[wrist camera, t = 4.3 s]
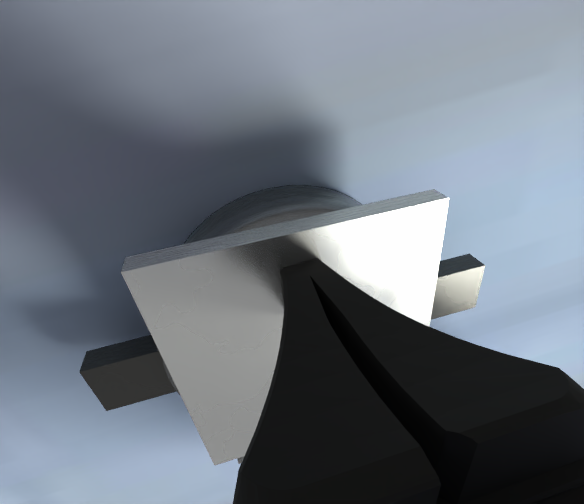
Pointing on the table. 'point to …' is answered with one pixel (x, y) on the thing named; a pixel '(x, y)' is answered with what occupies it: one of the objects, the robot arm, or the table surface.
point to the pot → (236, 218)
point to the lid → (273, 300)
